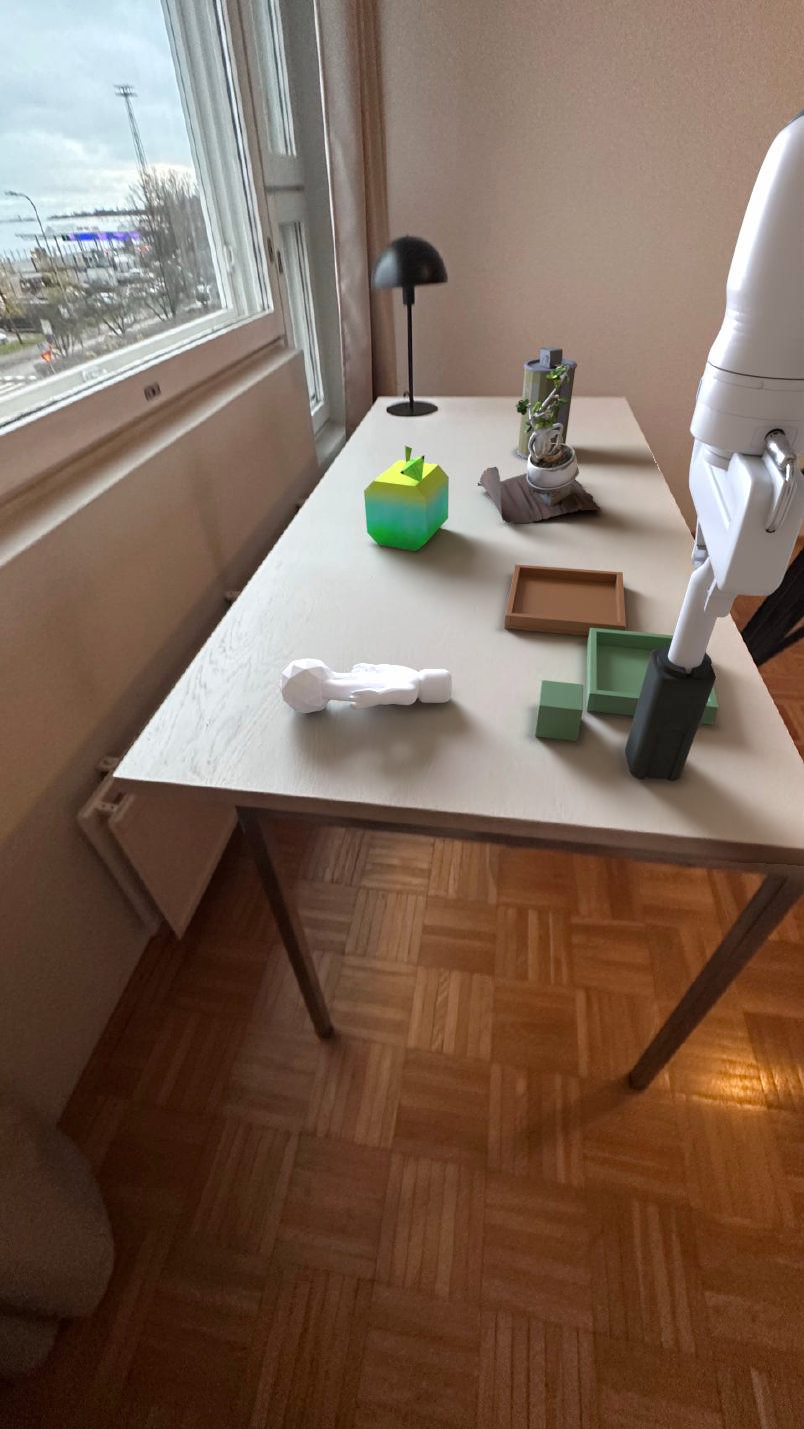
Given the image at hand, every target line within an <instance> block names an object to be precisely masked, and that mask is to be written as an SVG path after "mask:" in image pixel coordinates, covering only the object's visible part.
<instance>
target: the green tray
mask: <svg viewBox="0 0 804 1429" xmlns="http://www.w3.org/2000/svg"><path fill="white" fill-rule="evenodd" d="M673 636H674V634H665V633H654V632H644V631H643V632H642V631H641V632H640V631H631V630H625V631H621V630H609V629H598V628H597V629H596V628H590V632H589V636H587V637H588V638H587V643H586V694H585V695H586V696H585V700H586V701H585V710H586V711H587V712H596V713H597V712H598V713H604V714H605V713H606V714H614V715H622V716H632V717H634V715H635V711H636V707H637V704H638V700H639V696H640V693H641V689H642V685H643V681H644V678H645V674H646V670H647V667H648V663H649V659H650V655H651V653H652V651H653V650H655V649H659V648H663V647H665V646H667V645H671V643H672V640H673ZM705 653H707V650H706V651H705ZM714 685H715V684H714ZM714 685H713V688H712V691H711V693H710V696H709V699H708V702H707V704H706V707H705V710H704V713H703V715H702V718H701V721H700V724H701V725H709V726H712V725H713V724H714V720H715V718H716V715H717V713H718V710H719V703H718V699H717V694H716V689H715V686H714ZM700 724H699V725H700Z"/></svg>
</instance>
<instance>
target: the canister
mask: <svg viewBox="0 0 804 1429" xmlns="http://www.w3.org/2000/svg"><path fill="white" fill-rule="evenodd" d="M539 351H540V354H539V355H540V356H539V358H534V359H530V360H527V361H525V362H524V364H523V367H524V374H523V385H522V386H523V387H522V398H521V400H523V401H525V399H528V400H529V403H528V404H527V405H526V406H529V404H532V408H533V407H534V406H535V404H536V403H537V402H540V403H541V405H540V407H541V406H542V405H543V403H544V402H545V400H547V399H548V397H549V396H550V395H551V393H552V392H553V391H554V389H555V386H554V385H555V384H554V381H553V380H548V379H547V375H550V373H551V371H553V372H554V373H555V372H556V370H557V369H556V368H557V367H560V366H562V365H563V364H564V365H565V367H567V366H569V370H568V371H567V375H568V376H569V383H567V384H566V378H564V380H563V382H562V383H561V385H560V387H559V390H556V392H555V393H554V396H555V395H559V397H560V398H559V399H561V398H563V397H566V398H568V399H569V402H568V403H564V405H563V406H562V407H561V411H560V410H558V409H557V410H556V411H555V412H554V414H553V415H554V416H555V418H556V423H555V422H554V421H552V420H551V422H553V425H554V424H557V423H560V424H562V425H563V432H562V437H563V442H562V443H561V444H565V445H567V436H568V429H569V428H568V427H569V420H570V412H571V404H572V397H573V389H574V382H575V376H576V375H575V374H576V369H577V367H578V363H577V362H576V361H574V360H572V359H569V358H564V357H563V352H564V350H563V348H560V347H556V346H555V347H554V346H550V345H549V346H544V347H543V346H542V347H540V349H539ZM558 370H559V369H558ZM562 374H564V373H562ZM550 376H551V375H550ZM559 376H560V375H559ZM555 401H556V404H558V402H559V400H558V399H557V398H555V399H550V400H549V401H548V403H547V404H546V407H545V408H543V410H544V411H546V410H548V407H549V406H550V405H553V404H554V402H555ZM540 407H539V409H540ZM535 410H536V408H535ZM537 410H538V409H537ZM541 413H543V412H541ZM541 413H540V414H541ZM534 414H535V412H534V411H533V415H534ZM548 414H549V413H548ZM551 414H552V412H551ZM549 416H550V415H549ZM542 417H546V416H545V414H544V415H543V416H542ZM527 418H529V409H528V408H527V413H526V414H525V415H522V414H521V413H520V422H519V435H518V436H519V437H518V448H517V449H516V453H517V455H518V456H519V457H521V458H523V459H527V460H528V458H529V455H530V452H529V450H528V444H529V440H530V438H531V436H532V435H533V434H532V432H531V431H529V432H527V433H526V432H525V431H524V430H525V428H526V427H527V426H528V425H527V424H526V422H525V421H526V419H527ZM550 418H551V417H550ZM550 418H549V419H548V420H550ZM536 421H537V419H536ZM542 427H544V426H542ZM545 428H546V427H545ZM552 430H558V431H559V432H560V429H552ZM552 430H550V431H552ZM557 438H558V435H557V437H555V438H554V439H550V440H551V443H556V442H557ZM532 449H533V450H534V442H533V445H532Z"/></svg>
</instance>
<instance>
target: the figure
mask: <svg viewBox="0 0 804 1429" xmlns="http://www.w3.org/2000/svg"><path fill="white" fill-rule="evenodd" d="M278 687H279V690H280V693H281V697H282V701H283V702H284V703H285V704H287V705H288V706H289V707H290V708H291V709H292V710H293V711H294V712H299V713H304V714H309V713H314V712H318V711H319V712H320V711H323V710H324V709H325V707H326V706H327V705H328V704H329V703H330V701H340V702H349V704H350V705H349V706H350V707H352V708H353V709H357V710H366V709H369V708H372V707H375V706H377V705H385V706H386V705H387V706H388V705H400V706H410V705H413V704H414V703H416V701H417V699H418V700H419V701H420V702H421V703H425V704H444V703H447V702H448V701H449V700H450V699H451V698H452V693H453V679H452V675H451V673H450V671H448V670H447V669H444V668H425V669H422V670H420V671H419V672H418V671H416V670H415V669H413V668H410V667H407V666H403V665H393V664H387V663H383V664H377V665H376V664H371V663H365V662H363V663H358V664H355V665H354V666H353V667H352V670H351V671H350V672H346V673H345V672H344V673H343V672H342V673H341V672H340V673H339V672H335V671H332V670H331V668H329V667H328V666H327V665H326V664H325V663H324V662H323V661H322V660H320V659H314V658H313V659H312V658H302V659H298V660H293V661H291V662H290V663H289V664H288V666H287V667H286V668H285V669H284V670H283V672H282V673H281V676H280V680H279V684H278Z"/></svg>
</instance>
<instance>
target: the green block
mask: <svg viewBox="0 0 804 1429" xmlns="http://www.w3.org/2000/svg"><path fill="white" fill-rule="evenodd" d="M583 711H584V684H582V683H573V682H563V681H554V680H545V679H542V680H541V684H540V689H539V698H538V704H537V711H536V712H537V713H536V720H535V721H536V722H535V733H534V736H535V737H539V738H546V739H553V740H562V741H571V742H577V740H578V736H579V732H580V727H581V721H582V716H583Z"/></svg>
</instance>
